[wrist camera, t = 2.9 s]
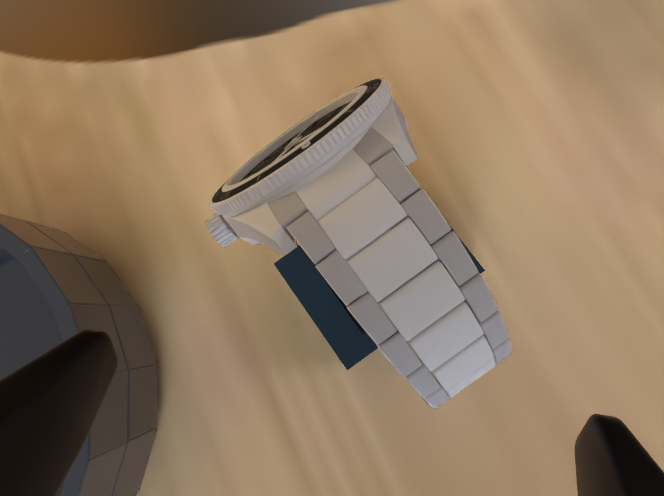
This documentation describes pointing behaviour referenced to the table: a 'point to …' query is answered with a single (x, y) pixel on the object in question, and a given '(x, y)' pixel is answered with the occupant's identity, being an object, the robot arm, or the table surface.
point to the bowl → (66, 321)
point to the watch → (367, 244)
